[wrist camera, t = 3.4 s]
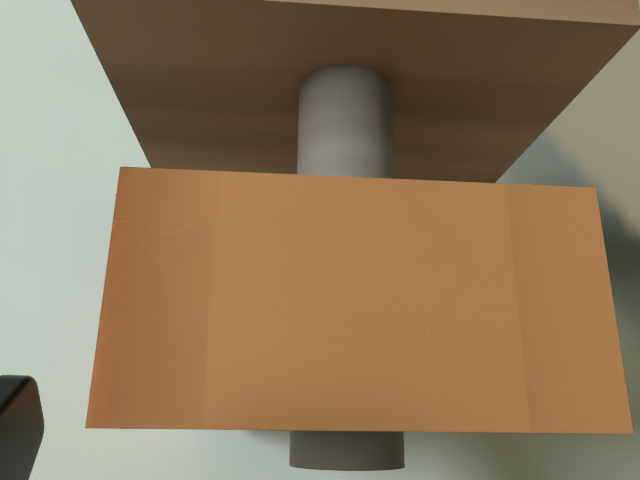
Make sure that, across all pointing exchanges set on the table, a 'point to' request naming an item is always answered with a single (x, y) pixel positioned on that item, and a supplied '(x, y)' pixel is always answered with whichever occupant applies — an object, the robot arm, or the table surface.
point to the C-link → (355, 307)
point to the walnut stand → (350, 99)
